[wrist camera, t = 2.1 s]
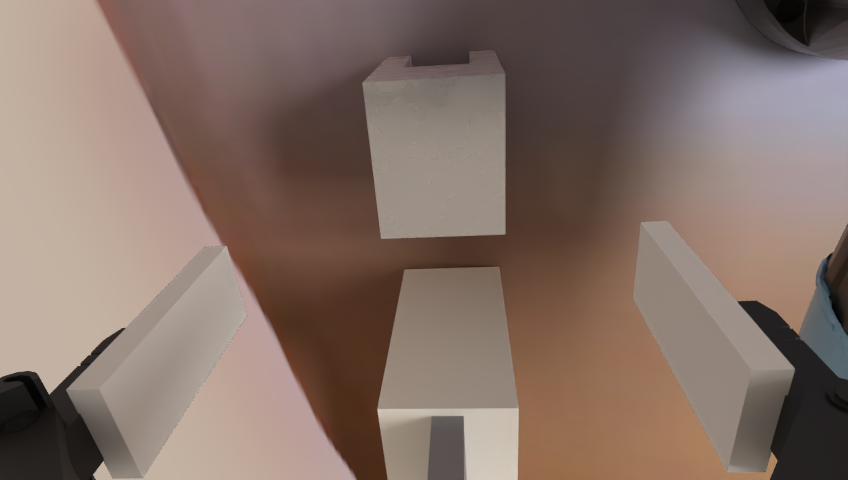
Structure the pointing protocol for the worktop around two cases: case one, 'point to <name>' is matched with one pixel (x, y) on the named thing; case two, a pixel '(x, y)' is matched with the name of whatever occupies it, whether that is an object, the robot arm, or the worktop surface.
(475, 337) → the white blocky piece
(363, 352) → the worktop surface
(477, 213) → the pale grey block
